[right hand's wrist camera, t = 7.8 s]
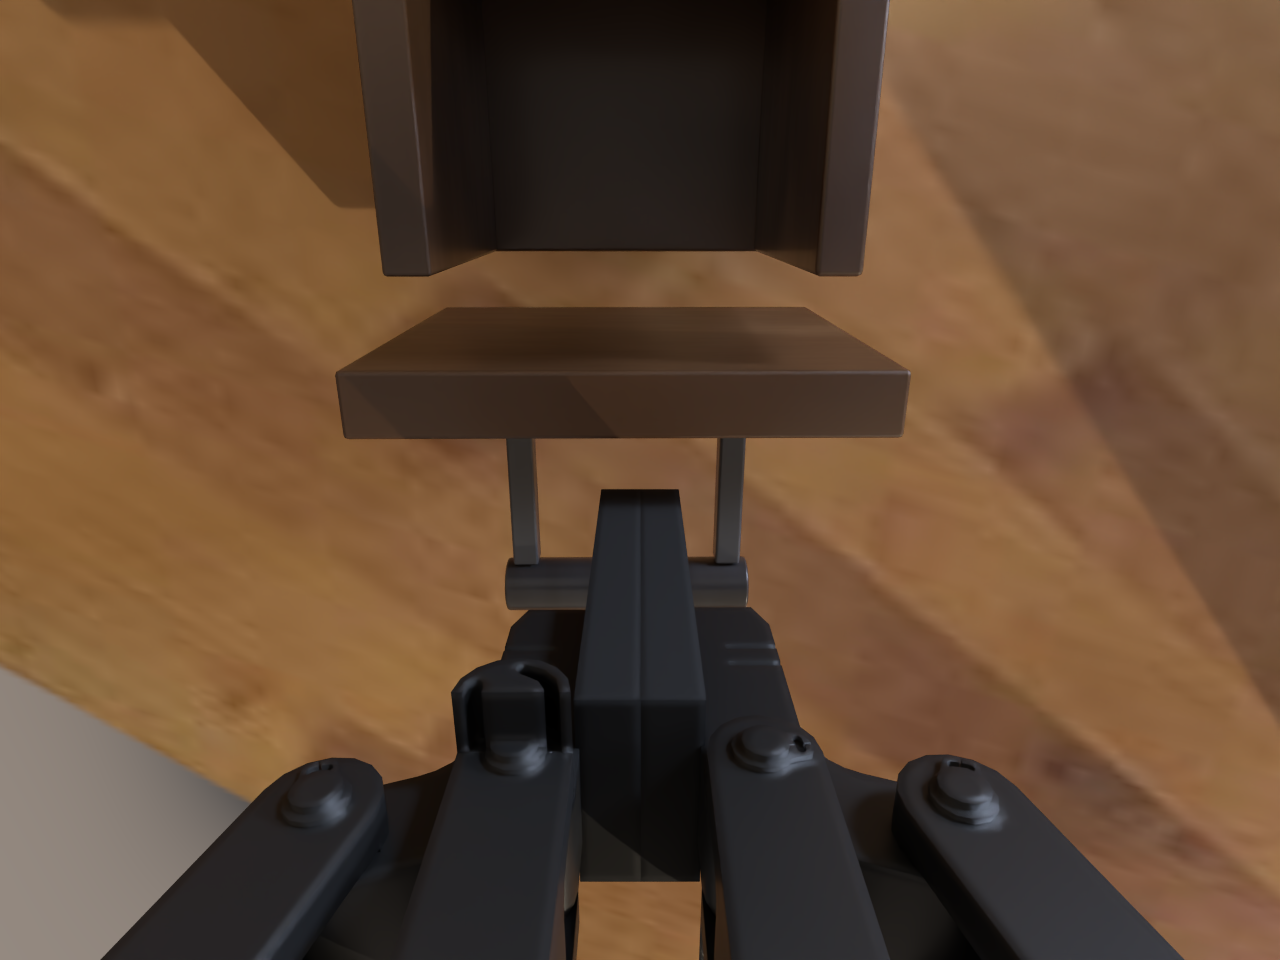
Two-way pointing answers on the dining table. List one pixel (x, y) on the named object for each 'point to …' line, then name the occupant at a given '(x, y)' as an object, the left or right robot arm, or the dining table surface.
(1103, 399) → the dining table surface
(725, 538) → the drawer
